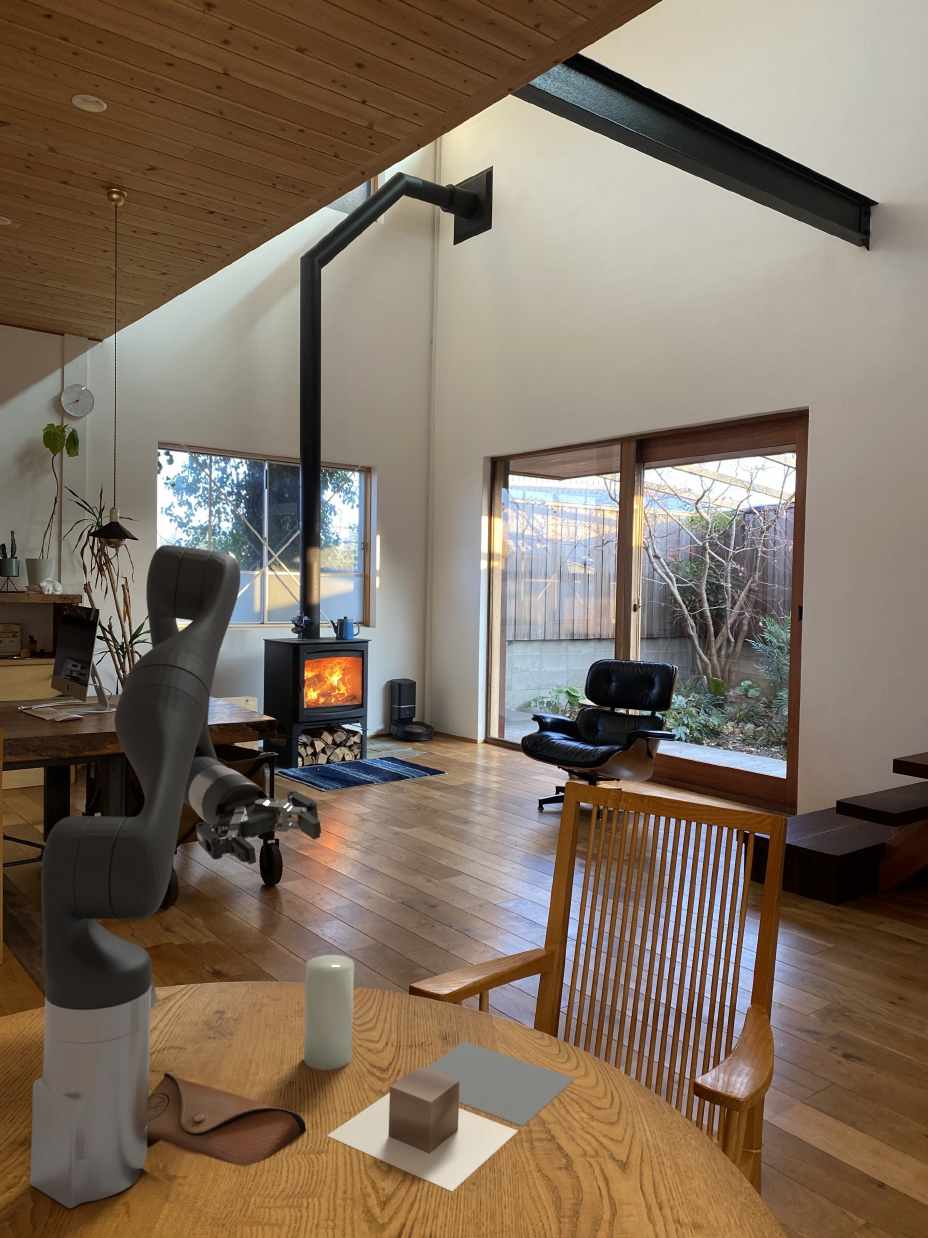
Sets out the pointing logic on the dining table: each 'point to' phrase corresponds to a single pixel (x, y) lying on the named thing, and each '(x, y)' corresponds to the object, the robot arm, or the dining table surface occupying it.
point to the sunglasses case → (218, 1122)
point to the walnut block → (424, 1109)
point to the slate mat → (500, 1082)
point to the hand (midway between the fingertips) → (285, 843)
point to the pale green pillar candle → (328, 1012)
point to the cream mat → (438, 1167)
